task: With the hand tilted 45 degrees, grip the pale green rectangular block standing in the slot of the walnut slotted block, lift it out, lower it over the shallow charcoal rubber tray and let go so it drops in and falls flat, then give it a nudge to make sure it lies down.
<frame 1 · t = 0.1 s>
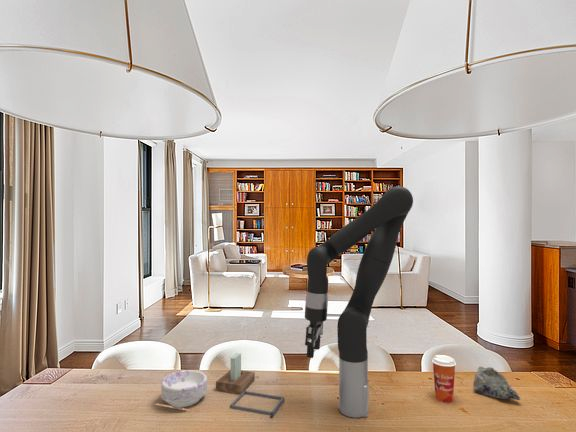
hand: (313, 352, 123), 17 cm above the table, tool pointing down, fingers open, 8 cm apart
charcoal tray: (257, 406, 122), on the table
mineral rock: (494, 397, 128), on the table
paper cup: (444, 399, 127), on the table
paper bowls: (184, 402, 125), on the table
pale green rectangular block: (235, 385, 135), point 1 cm above the table, touching walnut slotted block
walnut slotted block: (235, 387, 135), on the table
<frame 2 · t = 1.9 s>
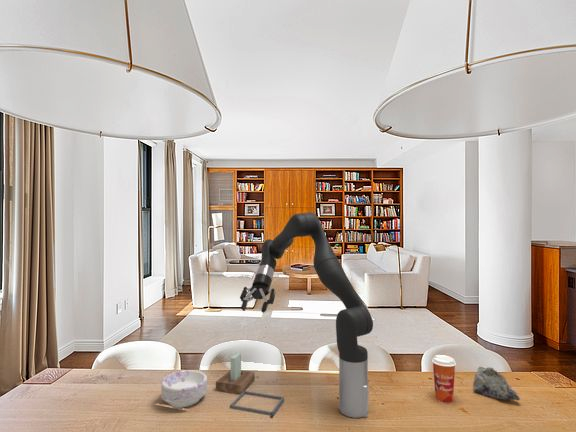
hand: (252, 310, 146), 26 cm above the table, tool tilted 45°, fingers open, 8 cm apart
nothing on the table moved.
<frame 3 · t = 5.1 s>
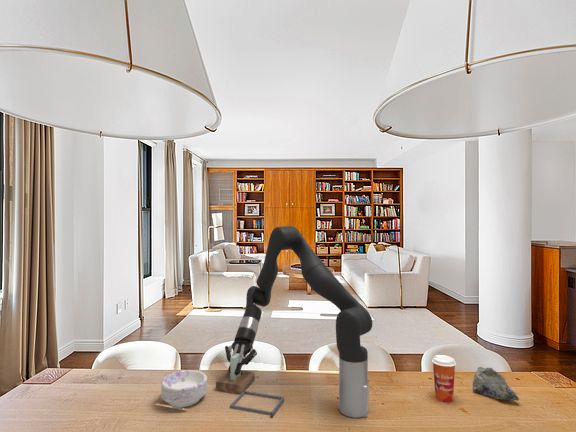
hand: (233, 373, 133), 6 cm above the table, tool tilted 45°, fingers closed on pale green rectangular block, 1 cm apart
pale green rectangular block: (235, 385, 135), point 1 cm above the table, touching gripper, walnut slotted block
everything else where it was.
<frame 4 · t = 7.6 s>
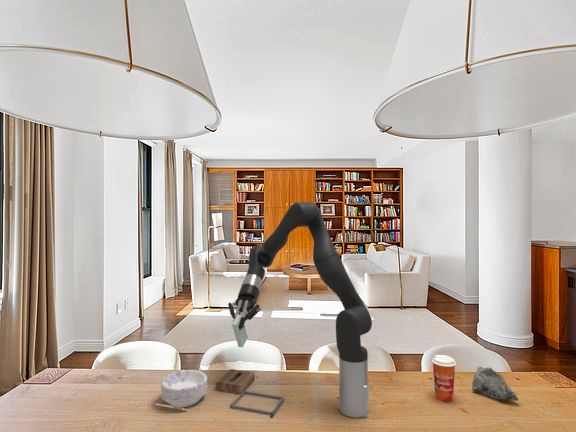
hand: (236, 328, 131), 23 cm above the table, tool tilted 45°, fingers closed on pale green rectangular block, 1 cm apart
pale green rectangular block: (243, 341, 136), point 17 cm above the table, tilted 28°, touching gripper
everything else where it was.
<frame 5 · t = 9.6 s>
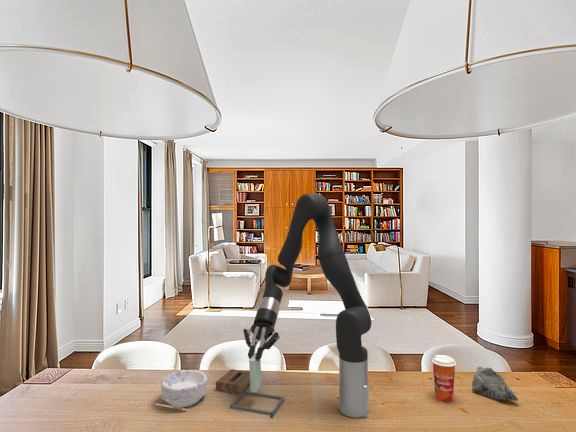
hand: (253, 359, 119), 17 cm above the table, tool tilted 45°, fingers closed on pale green rectangular block
pale green rectangular block: (256, 387, 121), point 6 cm above the table, tilted 9°, touching gripper
everything else where it was.
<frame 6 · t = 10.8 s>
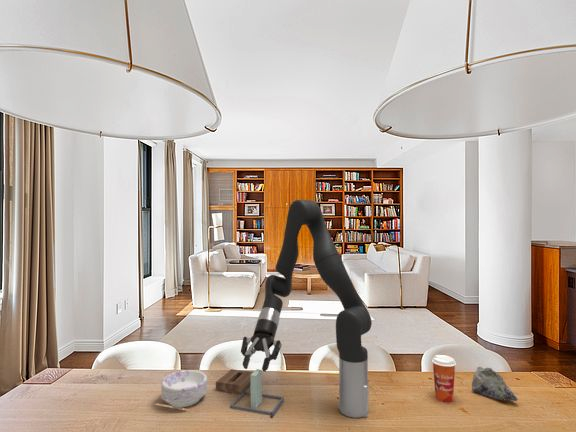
hand: (254, 369, 119), 13 cm above the table, tool tilted 45°, fingers open, 6 cm apart
pale green rectangular block: (256, 405, 121), resting on charcoal tray
everything else where it was.
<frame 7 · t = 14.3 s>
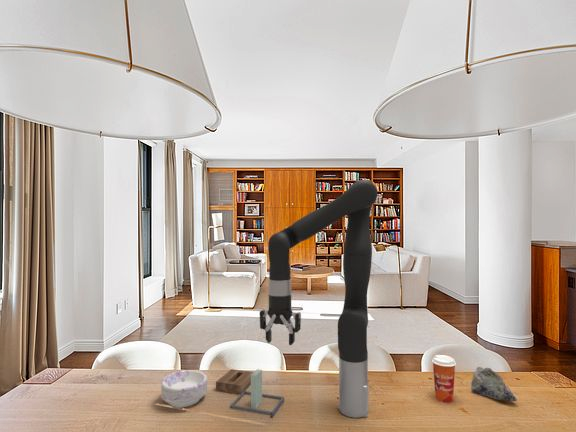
hand: (280, 343, 120), 22 cm above the table, tool pointing down, fingers open, 7 cm apart
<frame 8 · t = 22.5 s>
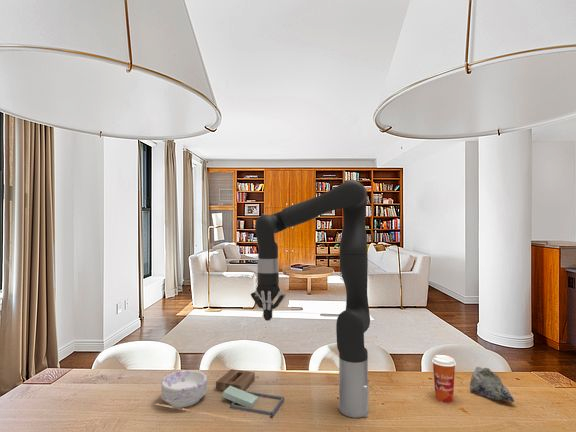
hand: (268, 320, 129), 27 cm above the table, tool pointing down, fingers closed
pale green rectangular block: (254, 402, 121), point 1 cm above the table, tilted 79°, touching charcoal tray
at the end: pale green rectangular block tilted 79°; pale green rectangular block inside the target area (0.7 cm from its centre), point 1.3 cm above the table; pale green rectangular block touching charcoal tray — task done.
